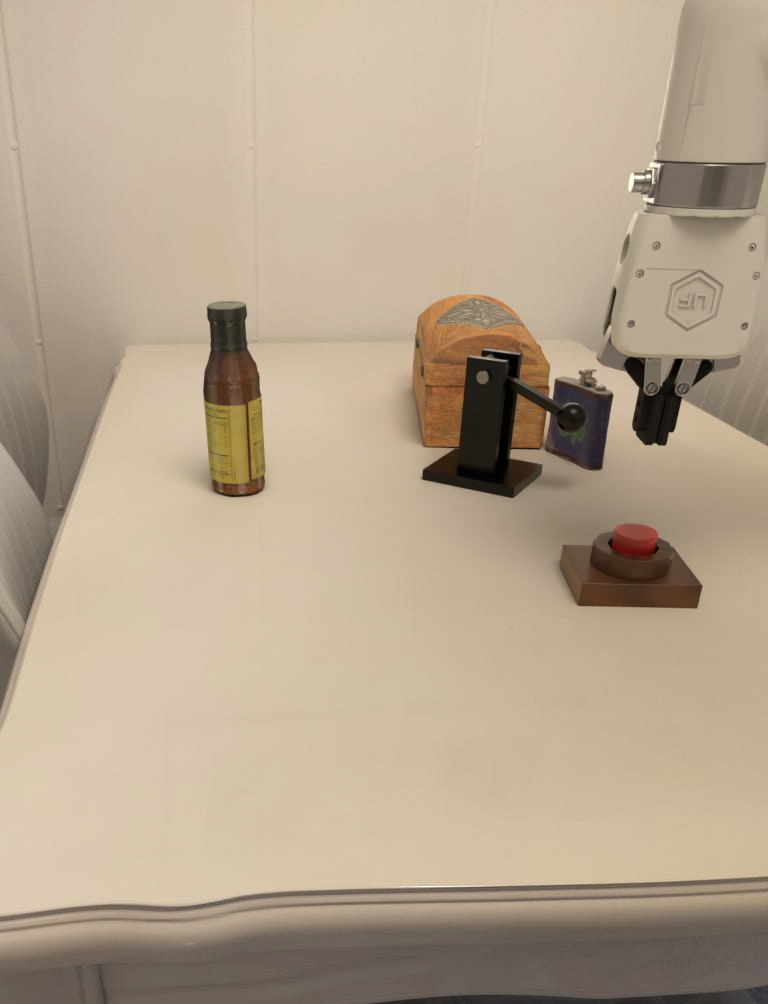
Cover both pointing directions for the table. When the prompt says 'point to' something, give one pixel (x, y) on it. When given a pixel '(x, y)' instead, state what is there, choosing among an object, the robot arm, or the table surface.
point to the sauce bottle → (233, 404)
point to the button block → (628, 576)
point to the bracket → (486, 432)
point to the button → (634, 539)
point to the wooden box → (443, 357)
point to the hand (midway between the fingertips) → (650, 440)
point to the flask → (592, 438)
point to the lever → (550, 405)
